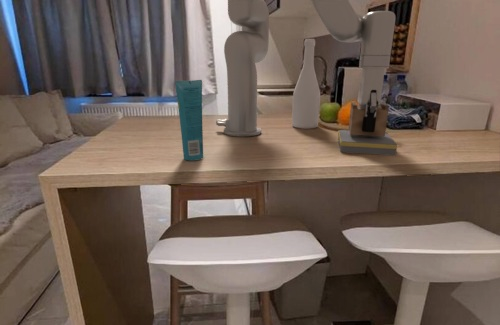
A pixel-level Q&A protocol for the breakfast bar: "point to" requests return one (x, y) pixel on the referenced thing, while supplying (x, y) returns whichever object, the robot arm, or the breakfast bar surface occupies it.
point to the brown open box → (358, 115)
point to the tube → (190, 118)
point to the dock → (366, 143)
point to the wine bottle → (306, 92)
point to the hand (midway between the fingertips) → (366, 128)
